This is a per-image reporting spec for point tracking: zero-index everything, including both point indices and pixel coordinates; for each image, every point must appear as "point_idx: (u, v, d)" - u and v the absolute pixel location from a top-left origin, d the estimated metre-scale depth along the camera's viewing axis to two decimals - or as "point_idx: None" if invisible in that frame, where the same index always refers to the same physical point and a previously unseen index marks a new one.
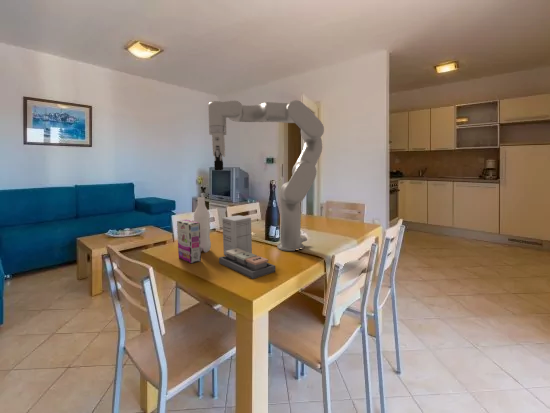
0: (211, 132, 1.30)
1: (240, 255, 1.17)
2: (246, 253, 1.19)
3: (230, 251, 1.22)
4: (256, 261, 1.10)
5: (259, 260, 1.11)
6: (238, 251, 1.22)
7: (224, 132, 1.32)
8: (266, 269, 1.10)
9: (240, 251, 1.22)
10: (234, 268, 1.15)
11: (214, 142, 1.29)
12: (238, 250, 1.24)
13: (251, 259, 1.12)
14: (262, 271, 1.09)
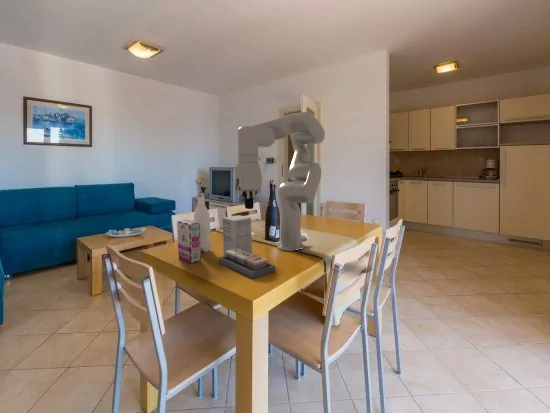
0: None
1: (240, 255, 1.17)
2: (246, 253, 1.19)
3: (230, 251, 1.22)
4: (256, 261, 1.10)
5: (259, 260, 1.11)
6: (238, 251, 1.22)
7: None
8: (266, 269, 1.10)
9: (240, 251, 1.22)
10: (234, 268, 1.15)
11: None
12: (238, 250, 1.24)
13: (251, 259, 1.12)
14: (262, 271, 1.09)
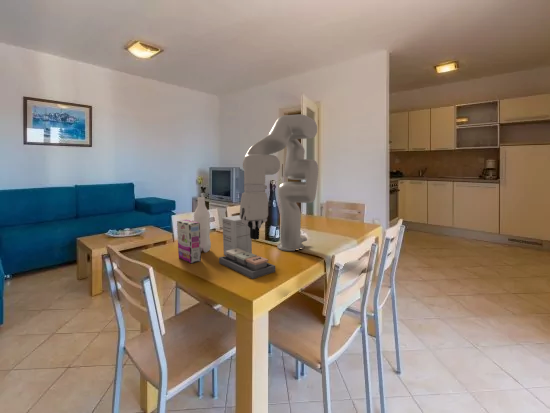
0: None
1: (240, 255, 1.17)
2: (246, 253, 1.19)
3: (230, 251, 1.22)
4: (256, 261, 1.10)
5: (259, 260, 1.11)
6: (238, 251, 1.22)
7: None
8: (266, 269, 1.10)
9: (240, 251, 1.22)
10: (234, 268, 1.15)
11: None
12: (238, 250, 1.24)
13: (251, 259, 1.12)
14: (262, 271, 1.09)
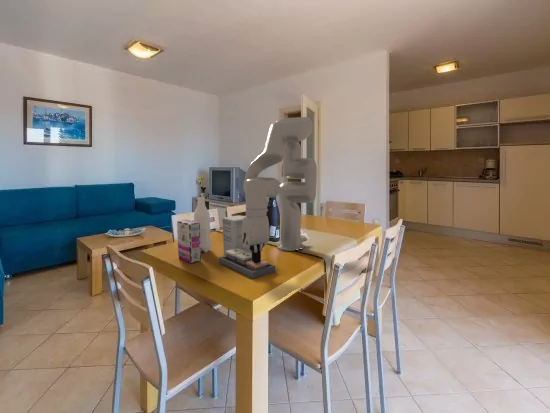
0: None
1: (240, 255, 1.17)
2: (246, 253, 1.19)
3: (230, 251, 1.22)
4: (256, 264, 1.10)
5: (259, 263, 1.11)
6: (238, 251, 1.22)
7: None
8: (266, 269, 1.10)
9: (240, 251, 1.22)
10: (234, 268, 1.15)
11: None
12: (238, 250, 1.24)
13: (251, 261, 1.13)
14: (262, 271, 1.09)
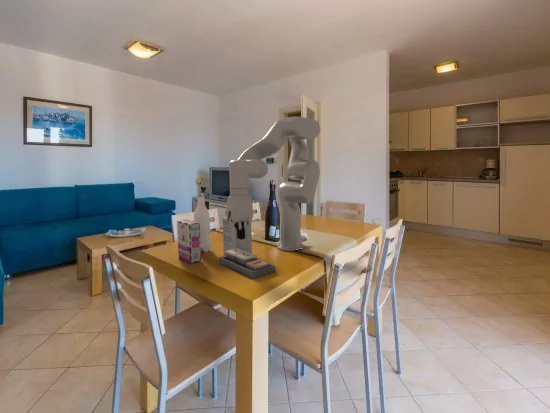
0: (249, 194, 1.16)
1: (240, 255, 1.17)
2: (246, 253, 1.19)
3: (230, 251, 1.22)
4: (256, 265, 1.10)
5: (259, 264, 1.11)
6: (238, 251, 1.22)
7: None
8: (266, 269, 1.10)
9: (240, 251, 1.22)
10: (234, 268, 1.15)
11: None
12: (238, 250, 1.24)
13: (251, 262, 1.13)
14: (262, 271, 1.09)
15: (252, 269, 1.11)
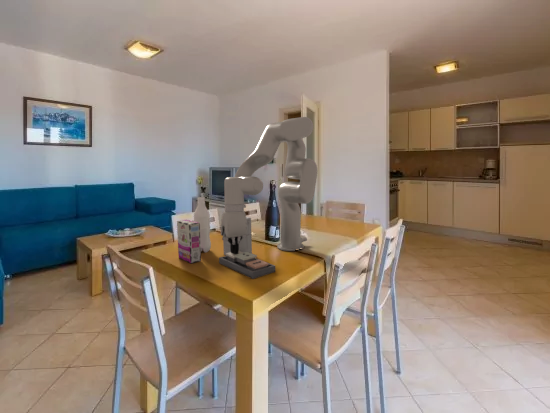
0: (243, 210, 1.20)
1: (240, 255, 1.17)
2: (246, 253, 1.19)
3: (230, 253, 1.22)
4: (256, 265, 1.10)
5: (259, 264, 1.11)
6: (238, 253, 1.22)
7: None
8: (266, 269, 1.10)
9: (240, 253, 1.22)
10: (234, 268, 1.15)
11: None
12: None
13: (251, 262, 1.13)
14: (262, 271, 1.09)
15: (252, 269, 1.11)
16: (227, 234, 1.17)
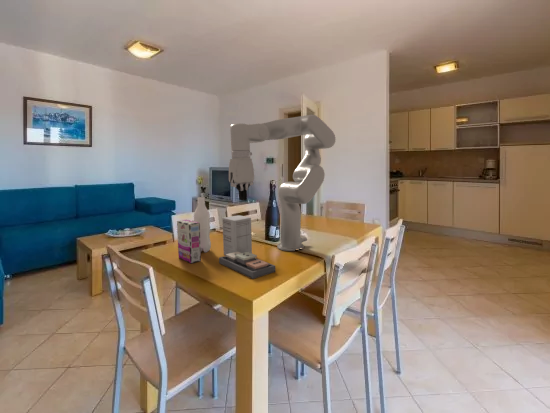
0: None
1: (240, 255, 1.17)
2: (246, 253, 1.19)
3: (230, 254, 1.22)
4: (256, 265, 1.10)
5: (259, 264, 1.11)
6: None
7: None
8: (266, 269, 1.10)
9: None
10: (234, 268, 1.15)
11: None
12: (238, 253, 1.24)
13: (251, 262, 1.13)
14: (262, 271, 1.09)
15: (252, 269, 1.11)
16: (235, 180, 1.20)
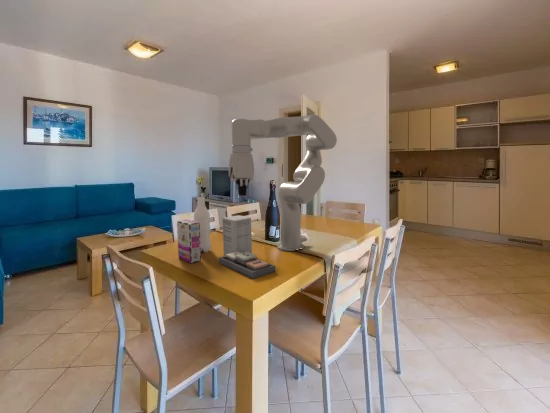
0: (250, 152, 1.23)
1: (240, 255, 1.17)
2: (246, 253, 1.19)
3: (230, 254, 1.22)
4: (256, 265, 1.10)
5: (259, 264, 1.11)
6: None
7: None
8: (266, 269, 1.10)
9: None
10: (234, 268, 1.15)
11: None
12: (238, 253, 1.24)
13: (251, 262, 1.13)
14: (262, 271, 1.09)
15: (252, 269, 1.11)
16: (235, 174, 1.20)
